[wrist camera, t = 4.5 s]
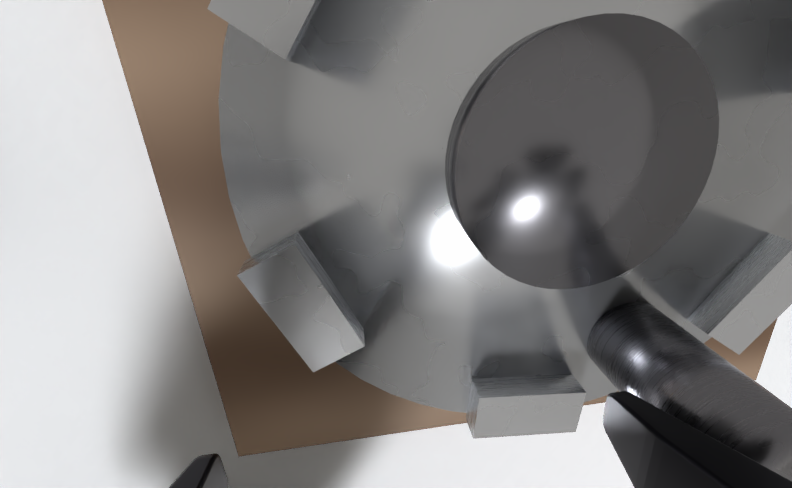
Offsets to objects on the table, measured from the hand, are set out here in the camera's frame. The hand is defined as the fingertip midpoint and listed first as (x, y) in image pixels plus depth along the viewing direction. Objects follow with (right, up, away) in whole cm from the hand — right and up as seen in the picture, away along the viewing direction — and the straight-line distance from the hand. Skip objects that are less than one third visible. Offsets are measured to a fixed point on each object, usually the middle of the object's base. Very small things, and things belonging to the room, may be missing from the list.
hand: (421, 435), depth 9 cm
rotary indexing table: (+3, +7, +3) cm, 8 cm away
